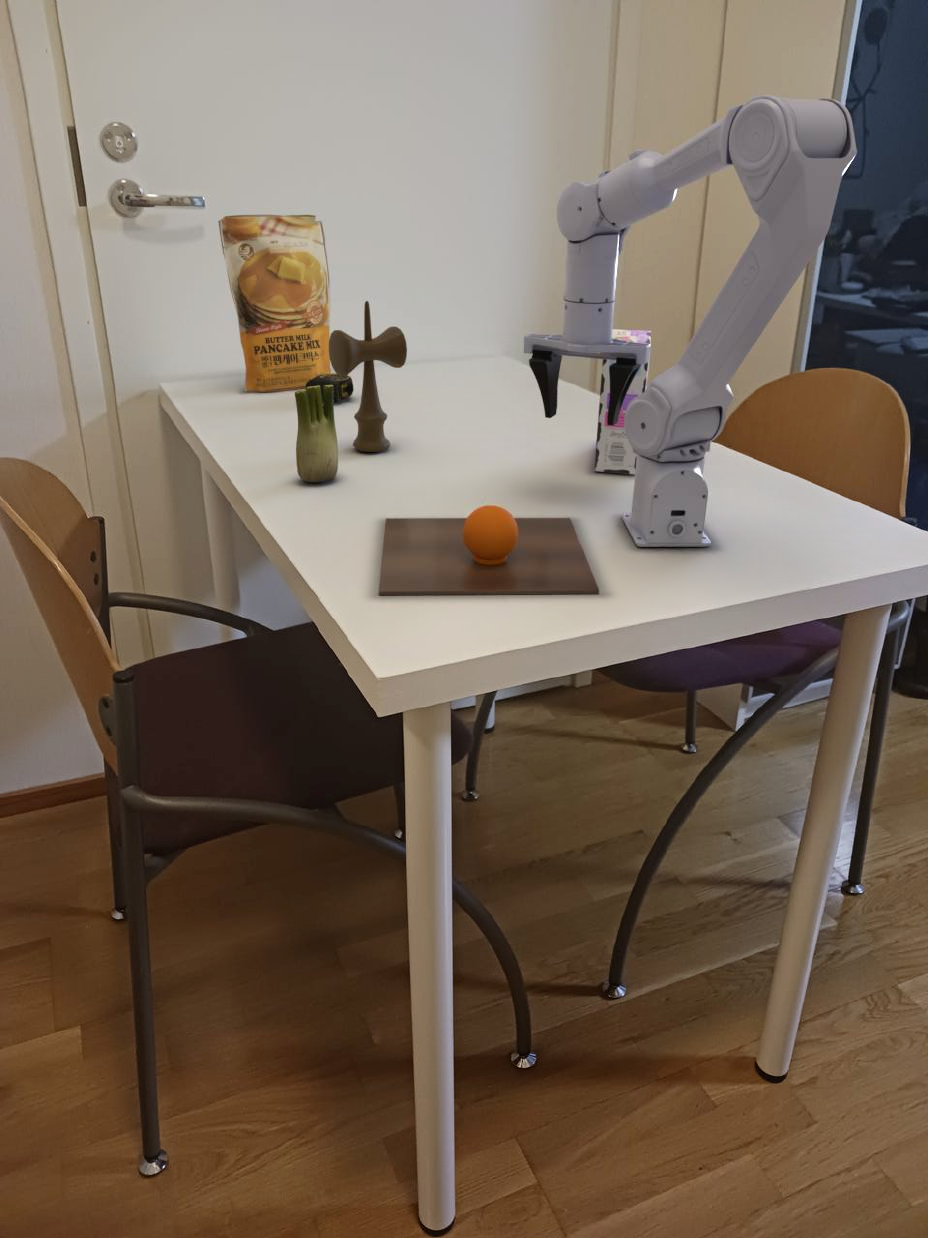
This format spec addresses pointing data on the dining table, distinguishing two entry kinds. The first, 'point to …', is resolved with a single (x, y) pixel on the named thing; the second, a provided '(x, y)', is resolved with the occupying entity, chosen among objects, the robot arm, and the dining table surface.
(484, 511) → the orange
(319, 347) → the pancake mix bag
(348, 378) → the tape measure
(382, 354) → the kendama
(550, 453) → the dining table surface
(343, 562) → the dining table surface
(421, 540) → the front mat
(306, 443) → the fennel bulb
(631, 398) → the candy box
